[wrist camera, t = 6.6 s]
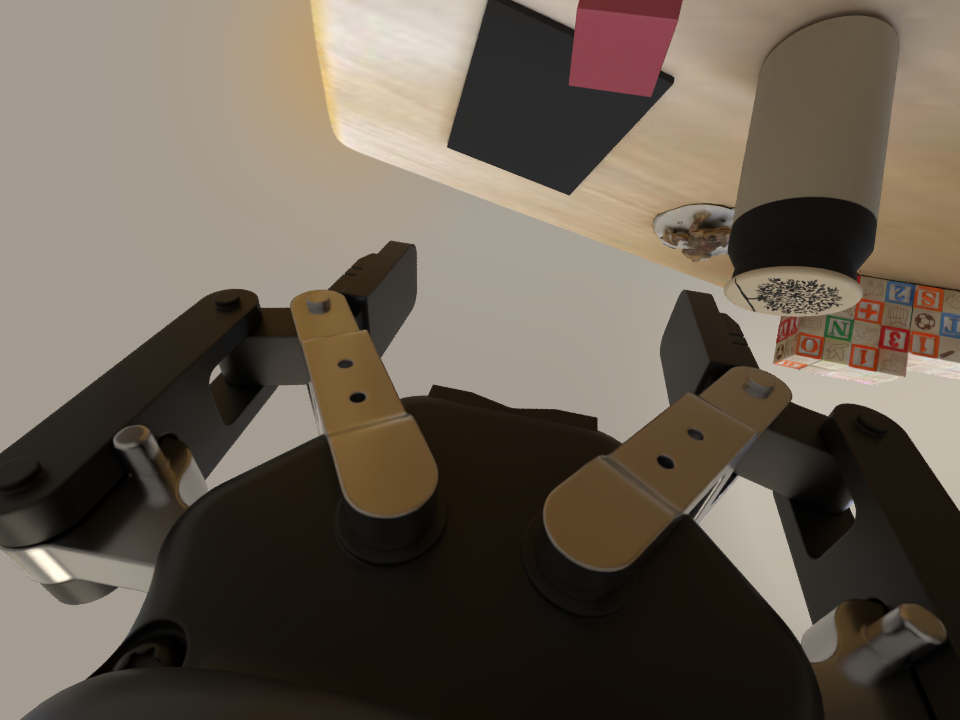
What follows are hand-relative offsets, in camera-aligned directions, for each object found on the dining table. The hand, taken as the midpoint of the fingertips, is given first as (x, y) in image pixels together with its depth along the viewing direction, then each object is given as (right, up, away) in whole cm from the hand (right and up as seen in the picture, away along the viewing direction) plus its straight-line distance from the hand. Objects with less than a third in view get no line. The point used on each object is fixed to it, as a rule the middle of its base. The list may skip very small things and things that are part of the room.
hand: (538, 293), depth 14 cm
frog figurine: (+26, +15, +42) cm, 52 cm away
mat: (+4, +22, +31) cm, 38 cm away
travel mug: (+23, +19, +18) cm, 35 cm away
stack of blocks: (+52, +7, +45) cm, 69 cm away
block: (+8, +24, +13) cm, 29 cm away
